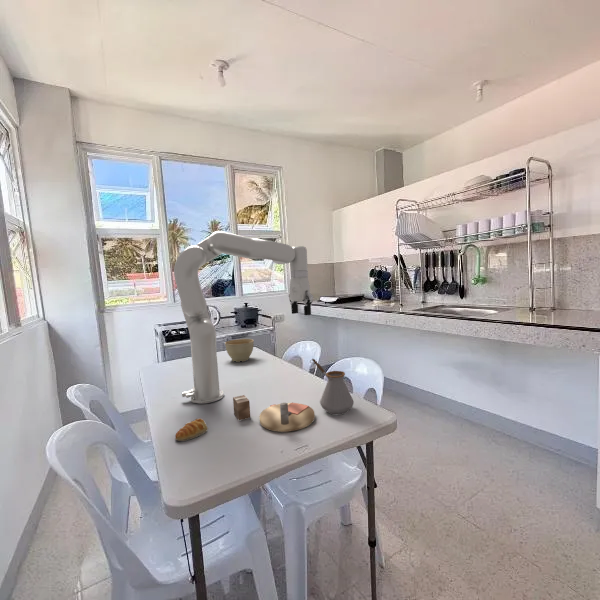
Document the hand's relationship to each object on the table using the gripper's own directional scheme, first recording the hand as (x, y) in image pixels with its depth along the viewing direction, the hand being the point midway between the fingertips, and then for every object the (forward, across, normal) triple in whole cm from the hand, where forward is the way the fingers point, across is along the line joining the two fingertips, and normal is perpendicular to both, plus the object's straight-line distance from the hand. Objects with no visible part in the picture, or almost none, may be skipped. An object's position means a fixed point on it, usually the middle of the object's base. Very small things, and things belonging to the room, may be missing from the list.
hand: (301, 314), depth 142 cm
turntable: (+30, +28, -27) cm, 49 cm away
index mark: (+30, +17, -25) cm, 43 cm away
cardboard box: (+30, +15, -37) cm, 50 cm away
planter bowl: (+30, -54, -6) cm, 62 cm away
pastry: (+30, +17, -54) cm, 65 cm away
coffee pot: (+30, +28, -9) cm, 42 cm away
